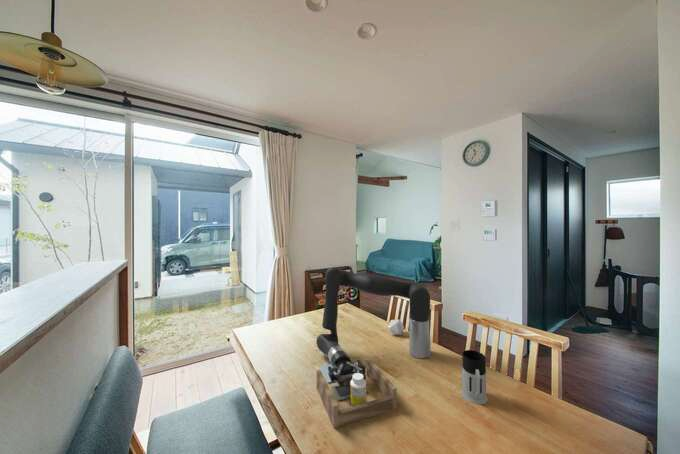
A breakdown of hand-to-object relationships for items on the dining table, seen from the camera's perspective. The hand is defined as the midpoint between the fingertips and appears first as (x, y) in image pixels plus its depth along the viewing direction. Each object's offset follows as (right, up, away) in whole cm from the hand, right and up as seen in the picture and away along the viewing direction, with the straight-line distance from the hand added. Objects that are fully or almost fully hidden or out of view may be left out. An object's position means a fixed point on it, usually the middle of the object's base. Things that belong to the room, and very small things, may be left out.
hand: (353, 381), depth 92 cm
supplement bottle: (+1, -6, -3) cm, 7 cm away
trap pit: (-1, -6, +4) cm, 7 cm away
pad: (-6, -6, +16) cm, 18 cm away
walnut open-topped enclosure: (0, -6, 0) cm, 6 cm away
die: (+27, -5, +51) cm, 58 cm away
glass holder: (+43, -6, -2) cm, 44 cm away
